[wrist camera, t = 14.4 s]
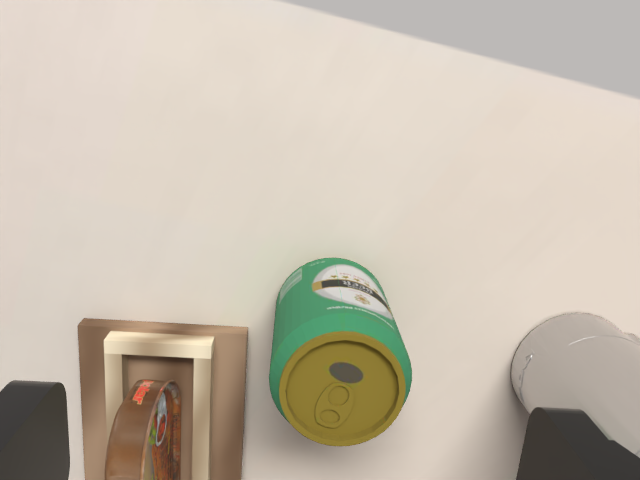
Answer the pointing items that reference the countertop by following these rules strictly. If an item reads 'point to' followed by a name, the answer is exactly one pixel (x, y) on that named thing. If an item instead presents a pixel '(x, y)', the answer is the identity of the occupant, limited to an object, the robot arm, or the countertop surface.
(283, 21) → the countertop surface
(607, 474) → the robot arm
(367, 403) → the beverage can
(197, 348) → the cradle
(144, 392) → the tin
